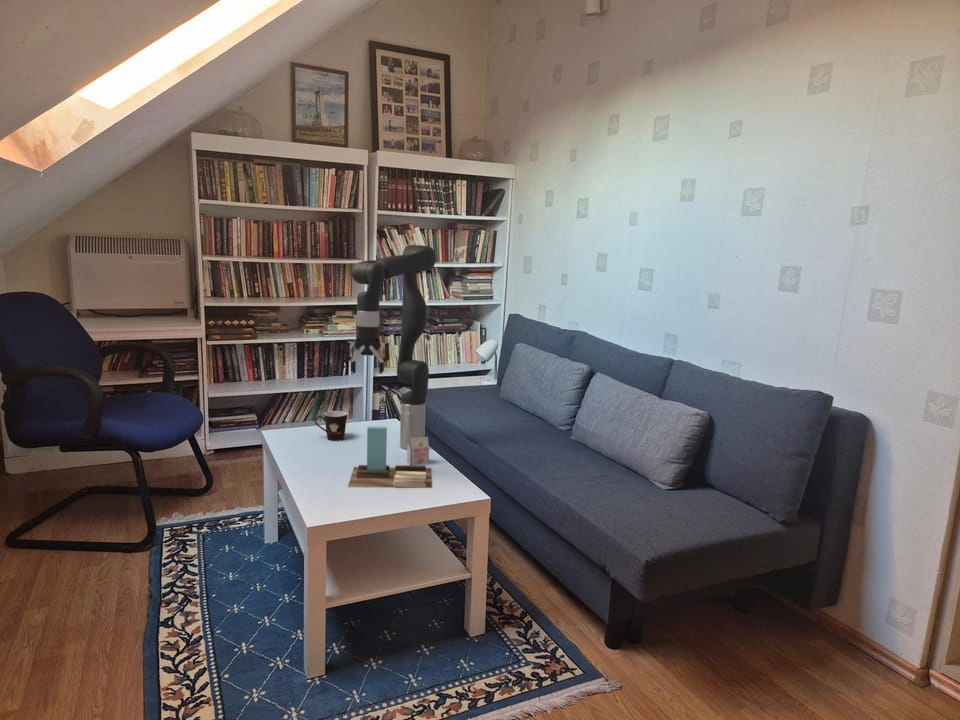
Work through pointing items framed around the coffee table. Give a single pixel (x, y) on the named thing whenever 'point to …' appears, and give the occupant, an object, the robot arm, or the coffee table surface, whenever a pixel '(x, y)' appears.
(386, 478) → the walnut rack
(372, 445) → the teal panel
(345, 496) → the coffee table surface
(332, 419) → the coffee mug
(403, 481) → the pine offcuts
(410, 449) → the tea bag
